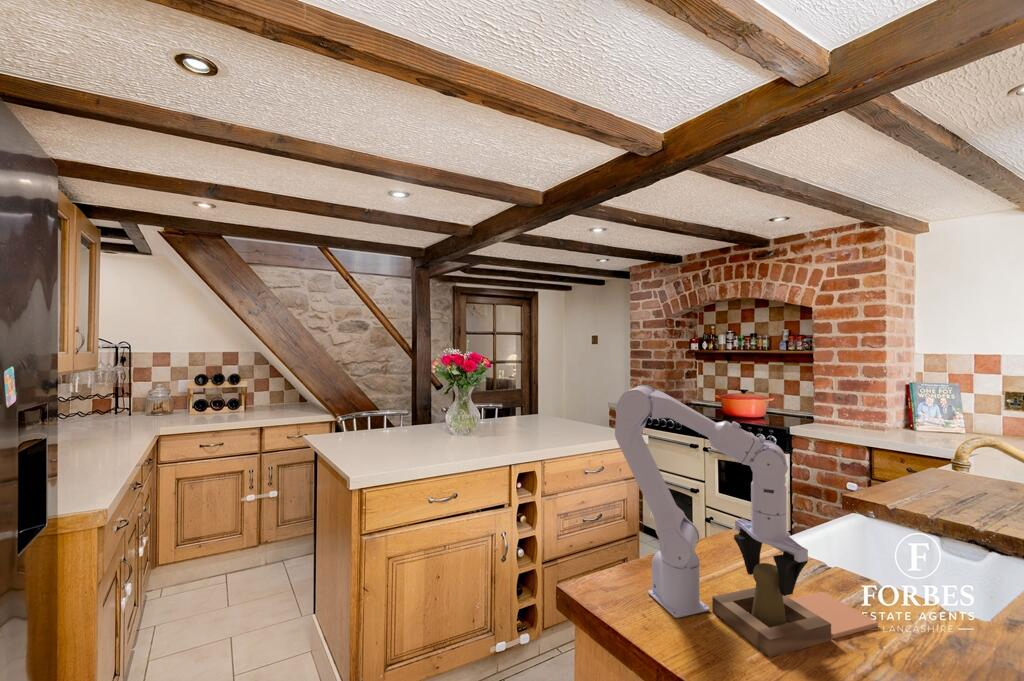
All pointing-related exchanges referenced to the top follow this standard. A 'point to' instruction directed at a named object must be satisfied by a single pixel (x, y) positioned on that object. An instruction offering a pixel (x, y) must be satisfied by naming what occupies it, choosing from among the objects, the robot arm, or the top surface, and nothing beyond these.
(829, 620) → the terracotta tile
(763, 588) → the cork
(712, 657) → the top surface
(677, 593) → the robot arm
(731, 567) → the top surface
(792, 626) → the walnut holder
